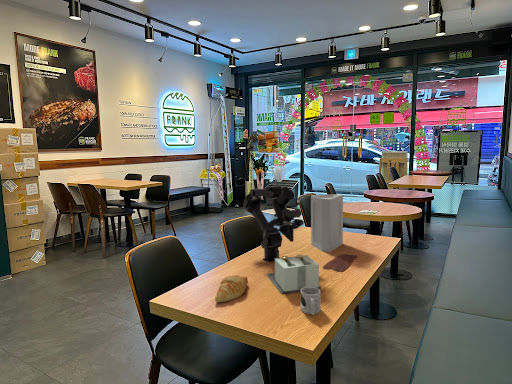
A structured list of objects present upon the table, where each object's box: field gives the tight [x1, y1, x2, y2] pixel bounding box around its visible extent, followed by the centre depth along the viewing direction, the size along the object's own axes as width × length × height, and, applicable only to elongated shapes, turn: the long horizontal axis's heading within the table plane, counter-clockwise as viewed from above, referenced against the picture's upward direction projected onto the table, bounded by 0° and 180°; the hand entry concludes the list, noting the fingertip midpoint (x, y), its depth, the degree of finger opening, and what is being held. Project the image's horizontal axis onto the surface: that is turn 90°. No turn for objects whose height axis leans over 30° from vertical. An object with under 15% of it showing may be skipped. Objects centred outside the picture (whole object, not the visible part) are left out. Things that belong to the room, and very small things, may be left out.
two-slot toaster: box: [274, 254, 320, 291], centre depth 135 cm, size 12×14×9 cm
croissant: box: [214, 275, 249, 303], centre depth 129 cm, size 21×10×8 cm, turn 153°
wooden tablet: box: [322, 253, 358, 273], centre depth 163 cm, size 27×10×2 cm, turn 147°
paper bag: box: [310, 193, 344, 253], centre depth 189 cm, size 19×15×28 cm
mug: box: [300, 287, 322, 316], centre depth 113 cm, size 10×7×7 cm, turn 178°
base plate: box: [266, 254, 322, 295], centre depth 139 cm, size 20×16×11 cm
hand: (292, 241), depth 151 cm, fingers closed
